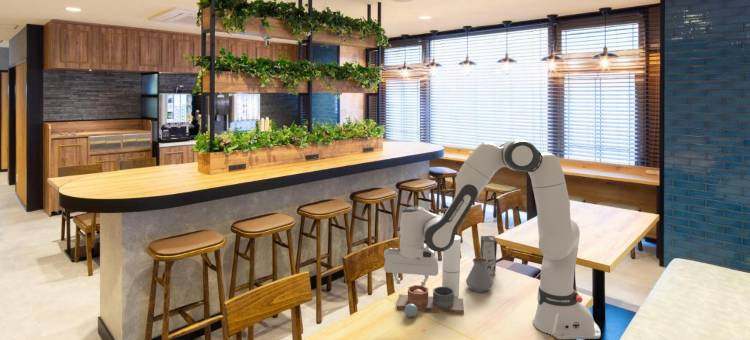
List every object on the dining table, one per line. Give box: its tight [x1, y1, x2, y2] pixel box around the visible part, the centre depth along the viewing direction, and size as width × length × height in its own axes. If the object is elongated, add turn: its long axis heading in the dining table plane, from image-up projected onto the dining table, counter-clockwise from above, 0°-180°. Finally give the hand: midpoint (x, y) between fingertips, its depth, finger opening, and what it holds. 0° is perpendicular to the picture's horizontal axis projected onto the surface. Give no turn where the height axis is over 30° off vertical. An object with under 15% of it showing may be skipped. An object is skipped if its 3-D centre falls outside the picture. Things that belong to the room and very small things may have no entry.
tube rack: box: [396, 284, 465, 315], centre depth 179 cm, size 26×10×6 cm, turn 81°
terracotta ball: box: [413, 289, 424, 293], centre depth 180 cm, size 5×5×5 cm
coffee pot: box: [465, 252, 515, 293], centre depth 195 cm, size 21×12×15 cm, turn 101°
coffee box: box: [479, 235, 498, 276], centre depth 213 cm, size 9×6×16 cm
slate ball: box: [404, 304, 419, 318], centre depth 170 cm, size 5×5×5 cm
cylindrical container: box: [441, 234, 462, 298], centre depth 188 cm, size 7×7×25 cm
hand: (410, 284), depth 169 cm, fingers open, 8 cm apart
